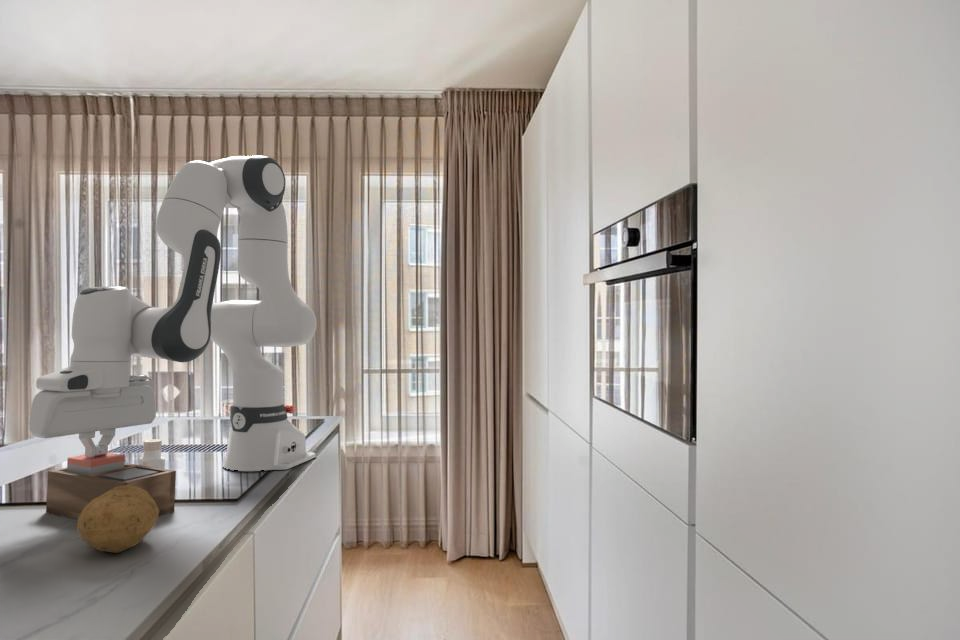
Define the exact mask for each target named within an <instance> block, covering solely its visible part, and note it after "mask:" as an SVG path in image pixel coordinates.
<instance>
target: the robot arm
mask: <svg viewBox="0 0 960 640" xmlns="http://www.w3.org/2000/svg"><path fill="white" fill-rule="evenodd" d="M285 191H286V176H285V173H284V170H283V168H282V167H281V165H280V164H279V163H278V162H277V161H276V159H274V158H273V157H269V156H265V155H259V154H258V155H255V154H254V155H252V156H251V155H250V156H249V155H247V156H245V155H243V156H242V155H238V156H237V155H235V156H229V157H226V158H221V159H217V160H208V161H203V160H191V161H188V162H186V163H184V164H183V165H182V166H181V167H180V169H178V171H177V173H176V174H175V176H174V178H173V179H172V181H171V183H170V184H169V187H168V188H167V191H166V193H165V195H164V198H163V200H162V203H161V205H160V207H159V210H158V213H157V217H156V223H155V230H156V233H157V235H158V237H159V238H160V240H161V241H162V243H163V244H164V245H165V246H166V247H168V248H169V249H170V250H172V251H174V252H175V253H176V254H177V253H178V254H179V255H181V256H182V259H183V269H182V274H181V278H180V282H179V288H178V292H177V295H176V296H177V297H176V298H175V299H176V300H175V301H174V302H173V303H172V304H171V305H170V306H168V307H158V306H157V307H156V306H153V305H151V304H149V303H147V302H144V300H141V299H139V298H138V296H137V297H136V296H135V295H134V294H133V293H131V290H130V289H129V287H126V286H122V285H110V286H95V287H87V288H85V289H83V290H81V292H79V294H78V295H77V297H76V300H75V303H74V308H73V315H72V325H71V338H72V341H73V350H72V353H71V356H70V359H69V360H70V361H69V362H70V363H69V366H67V367H65V368H61V369H59V370H57V371H53V372H51V373H50V372H49V373H48V374H44V375H42V376H39V377H37V378H36V381H35V384H36V385H35V386H36V389H37V390H41V391H39V392H38V393H37V394H35V396H34V397H33V399H32V402H31V407H30V413H29V420H28V421H29V423H28V424H29V425H28V428H29V429H28V430H29V432H30V433H31V435H32V436H33V437H35V438H41V439H51V438H59V437H66V436H72V435H78V439H79V440H80V443H82V445H83V447H84V455H85V457H87V458H93V457H99V456H104V455H107V454H108V453H109V446H110V444H111V442H113V439H114V437H116V429H121V428H122V429H123V428H128V427H135V426H145V425H149V424H153V422H154V421H155V419H156V415H157V413H156V412H157V411H156V409H157V408H156V398H155V391H154V390H155V383H154V380H153V379H152V378H151V377H148V375H147V374H140V375H130V372H131V371H130V370H131V357H132V356H133V357H139V358H148V359H158V360H159V359H161V360H166V361H171V362H177V363H189V362H191V361H194V360H195V359H197V358H199V357H200V356H201V355H203V353H204V352H205V351H206V349H207V348H208V346H209V343H210V341H212V342H213V343H214V344H216V345H217V346H218V348H220V350H221V351H222V352H223V354H224V355H225V356H226V358H227V360H228V363H229V366H230V368H231V372H232V389H233V390H232V405H231V406H230V411H229V414H230V415H229V421H230V423H231V426H230V428H229V434H228V440H227V447H226V453H225V456H224V457H223V464H222V468H223V467H224V469H225V468H226V470H228V469H230V470H229V471H234V470H238V471H237V472H262V471H261V470H264V471H273V470H274V471H276V470H277V471H279V470H280V471H281V470H289V469H291V468H293V467H296V466H298V465H300V464H303V463H305V462H308V461H310V460H313V459H314V458H316V453H315V452H313V451H311V450H307V444H306V443H307V442H306V435H305V433H303V432H302V430H300V429H299V428H298V427H296V425H295V424H294V423H292V422H291V421H289V419H288V418H289V417H288V414H294V413H295V412H296V407H295V405H293V404H291V405H289V404H286V405H285V404H283V403H284V374H283V371H282V370H281V369H280V368H279V366H277V365H276V364H274V363H272V362H271V361H268V359H266V358H265V357H264V356H263V354H262V351H261V350H262V349H261V347H263V348H264V347H268V348H269V347H271V348H274V347H275V348H289V347H290V348H292V347H297V346H302V345H307V344H308V343H310V342H311V340H312V339H313V338H314V336H315V334H316V331H317V323H318V322H317V317H316V315H315V312H314V310H313V309H312V308H311V307H310V306H309V304H306V302H304V301H303V299H302V298H300V297H299V296H298V294H297V293H296V291H295V289H294V287H293V285H292V283H291V279H290V277H289V265H288V264H289V262H288V247H289V245H288V244H289V243H288V237H289V236H288V235H289V234H288V225H287V224H288V222H287V215H286V210H285V206H284V203H282V201H283V199H284V196H285V195H284V194H285ZM225 208H227V209H236V210H237V212H238V216H239V223H238V224H239V226H238V232H237V233H238V235H237V236H238V237H237V238H238V239H237V272H238V274H239V276H240V277H241V278H242V279H243V281H245V282H247V283H249V284H250V285H252V286H254V287H256V288H257V289H258V291H259V292H260V296H261V299H260V300H255V299H254V300H250V299H249V300H248V299H231V300H225V301H219V302H215V303H213V301H214V296H215V291H216V286H217V282H218V281H217V280H218V275H219V269H220V262H221V255H222V254H221V253H222V250H221V248H222V247H221V243H220V240H219V238H218V231H219V227H220V225H221V224H220V223H221V221H222V217H223V213H224V210H225ZM96 432H99V434H100V436H101V438H100V440H98V441H99V442H98V443H97V444H95V442H94V440H93V439H94V438H95V437H96Z"/></svg>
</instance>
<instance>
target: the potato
mask: <svg viewBox="0 0 960 640" xmlns="http://www.w3.org/2000/svg"><path fill="white" fill-rule="evenodd" d="M158 514H159V509H158V507H157V505H156V503H155V501H154V500H153V499H152V497H151V496H150V495H149V493H148V492H147V491H145V490H144V489H142V488H140V487H135V486H131V485H124V486H118V487H114V488H113V489H111V490H109V491H107V492H106V493H104V494H102V495H101V496H99V497H97V498H95V499H93V500H92V501H91V502H90V503H88V504H87V505H86V506H85V508H84V509H83V511H82V512H81V514H80V516H79V517H78V519H77V523H76V528H77V529H76V530H77V531H78V533H79V535H80V538H81V540H82V541H83V542H85V543H87V544H88V545H89V546H91V547H92V548H93V547H94V548H95V549H96V550H98V551H101V552H108V553H113V554H119V553H121V552H123V551H125V550H129V549H130V548H132V547H134V546H135V545H138V544H139V543H140V542H142V540H143V539H144V538H145V537H146V536H147V535H148V534H149V532H150V531H151V530H152V528H154V526H156V524H157V522H158V517H159V516H158Z"/></svg>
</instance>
